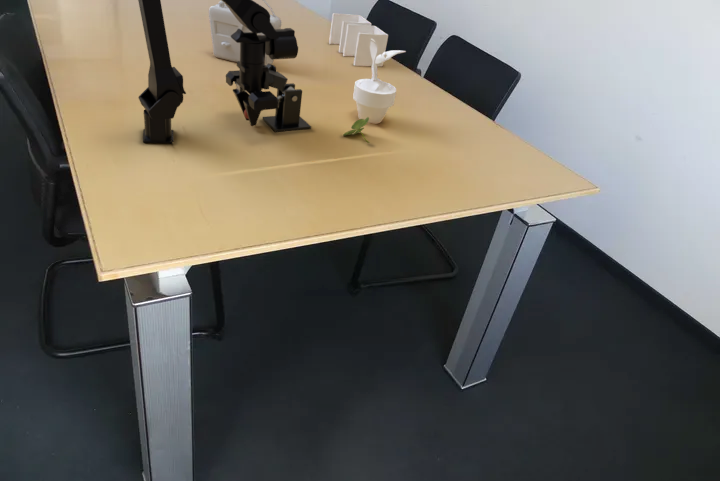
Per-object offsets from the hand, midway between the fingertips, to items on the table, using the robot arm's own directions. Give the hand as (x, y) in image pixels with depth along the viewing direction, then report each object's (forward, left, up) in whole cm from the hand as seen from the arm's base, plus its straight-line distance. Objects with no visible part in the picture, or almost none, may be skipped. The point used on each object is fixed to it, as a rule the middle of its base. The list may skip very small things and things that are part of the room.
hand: (250, 122), depth 139 cm
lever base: (+3, -9, -2) cm, 10 cm away
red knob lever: (+2, -5, +3) cm, 6 cm away
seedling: (-4, -27, -2) cm, 27 cm away
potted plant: (+9, -35, -2) cm, 36 cm away
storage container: (+69, -46, -2) cm, 83 cm away
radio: (+52, -3, -2) cm, 52 cm away
